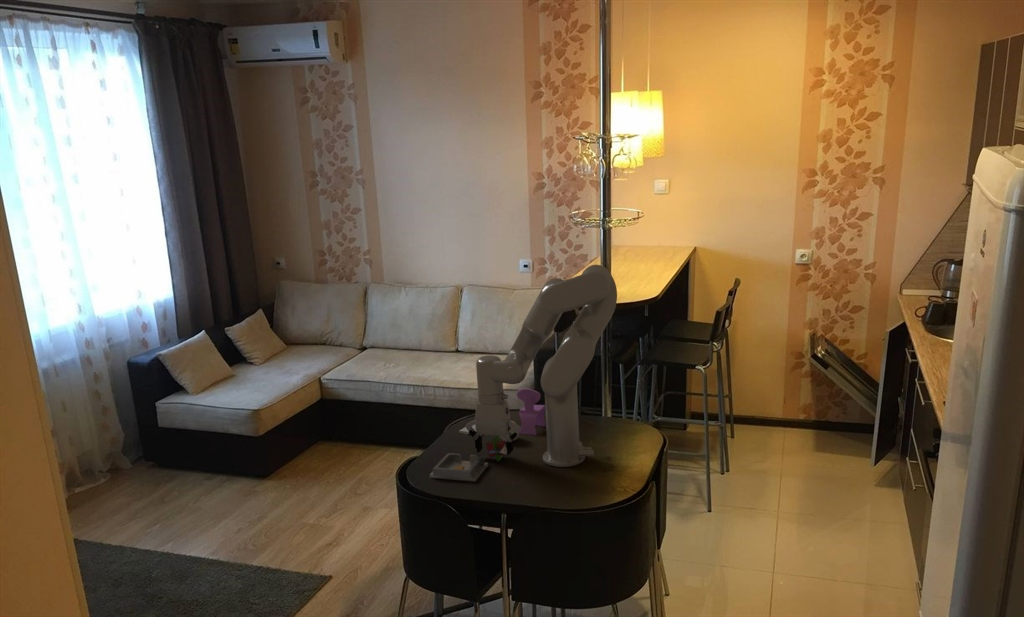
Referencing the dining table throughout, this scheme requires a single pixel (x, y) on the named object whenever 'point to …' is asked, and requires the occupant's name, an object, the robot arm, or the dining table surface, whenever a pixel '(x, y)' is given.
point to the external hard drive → (467, 430)
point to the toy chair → (530, 411)
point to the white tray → (459, 468)
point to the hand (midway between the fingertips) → (494, 451)
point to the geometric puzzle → (497, 448)
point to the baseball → (511, 432)
